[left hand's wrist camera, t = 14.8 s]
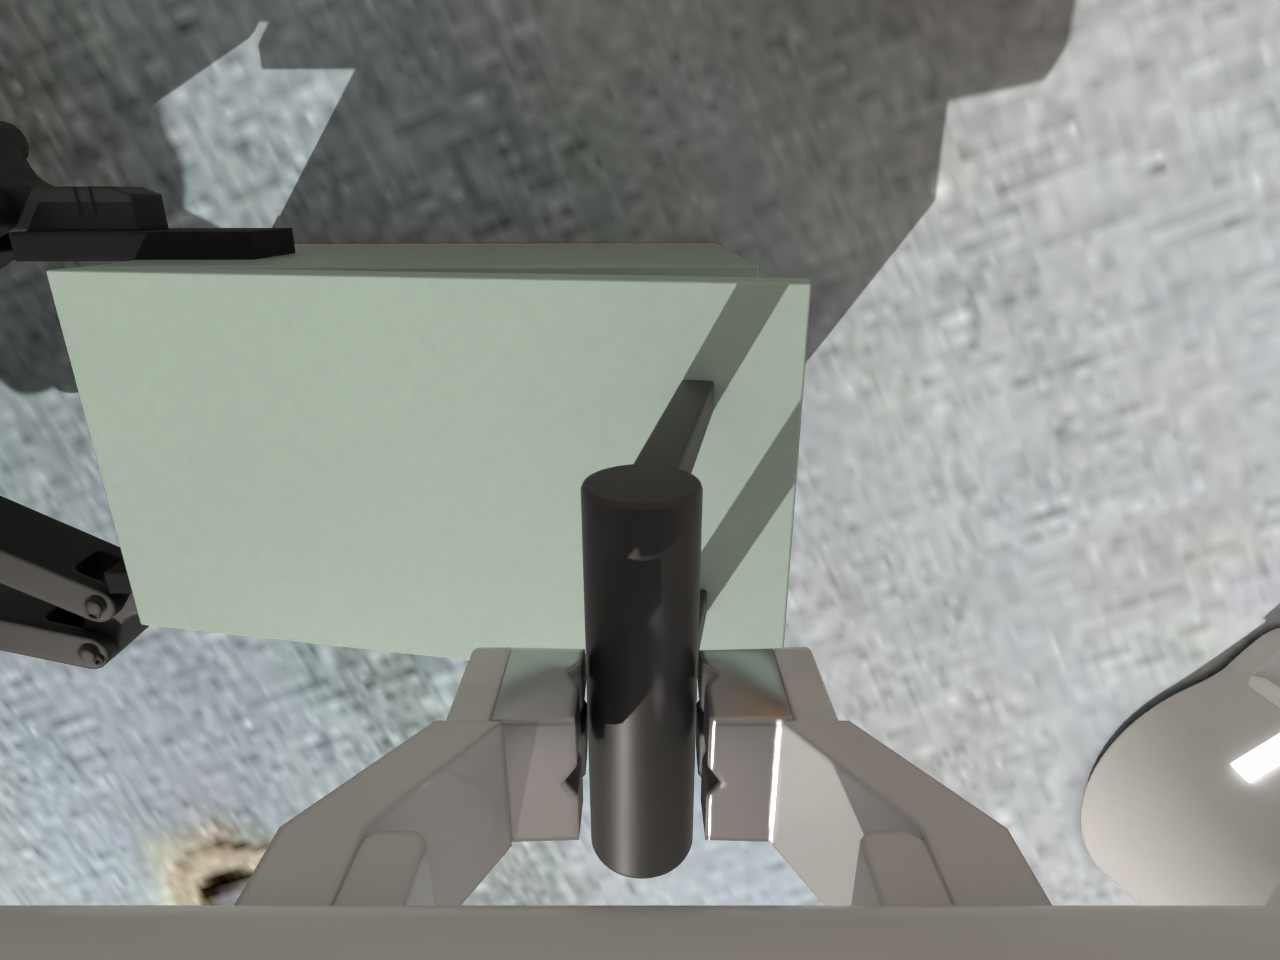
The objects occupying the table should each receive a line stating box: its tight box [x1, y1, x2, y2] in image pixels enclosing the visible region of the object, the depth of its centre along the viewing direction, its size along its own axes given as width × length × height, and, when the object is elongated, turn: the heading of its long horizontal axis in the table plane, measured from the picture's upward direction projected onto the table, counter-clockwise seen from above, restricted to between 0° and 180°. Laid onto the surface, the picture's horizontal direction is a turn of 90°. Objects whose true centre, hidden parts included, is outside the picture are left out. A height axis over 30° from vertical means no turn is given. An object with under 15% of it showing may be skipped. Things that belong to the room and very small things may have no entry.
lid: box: [46, 266, 811, 878], centre depth 15 cm, size 18×10×8 cm, turn 90°
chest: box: [90, 243, 759, 277], centre depth 25 cm, size 17×10×10 cm, turn 90°
